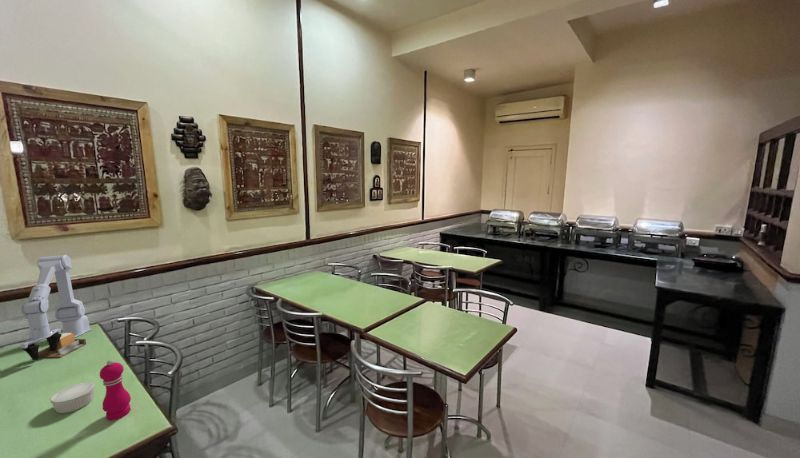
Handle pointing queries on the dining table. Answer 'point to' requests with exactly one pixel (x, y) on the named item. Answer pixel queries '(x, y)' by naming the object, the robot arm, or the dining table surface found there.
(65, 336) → the tan block
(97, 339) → the dining table surface
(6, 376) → the dining table surface
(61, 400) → the ramekin
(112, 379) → the pepper mill
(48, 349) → the shelf
